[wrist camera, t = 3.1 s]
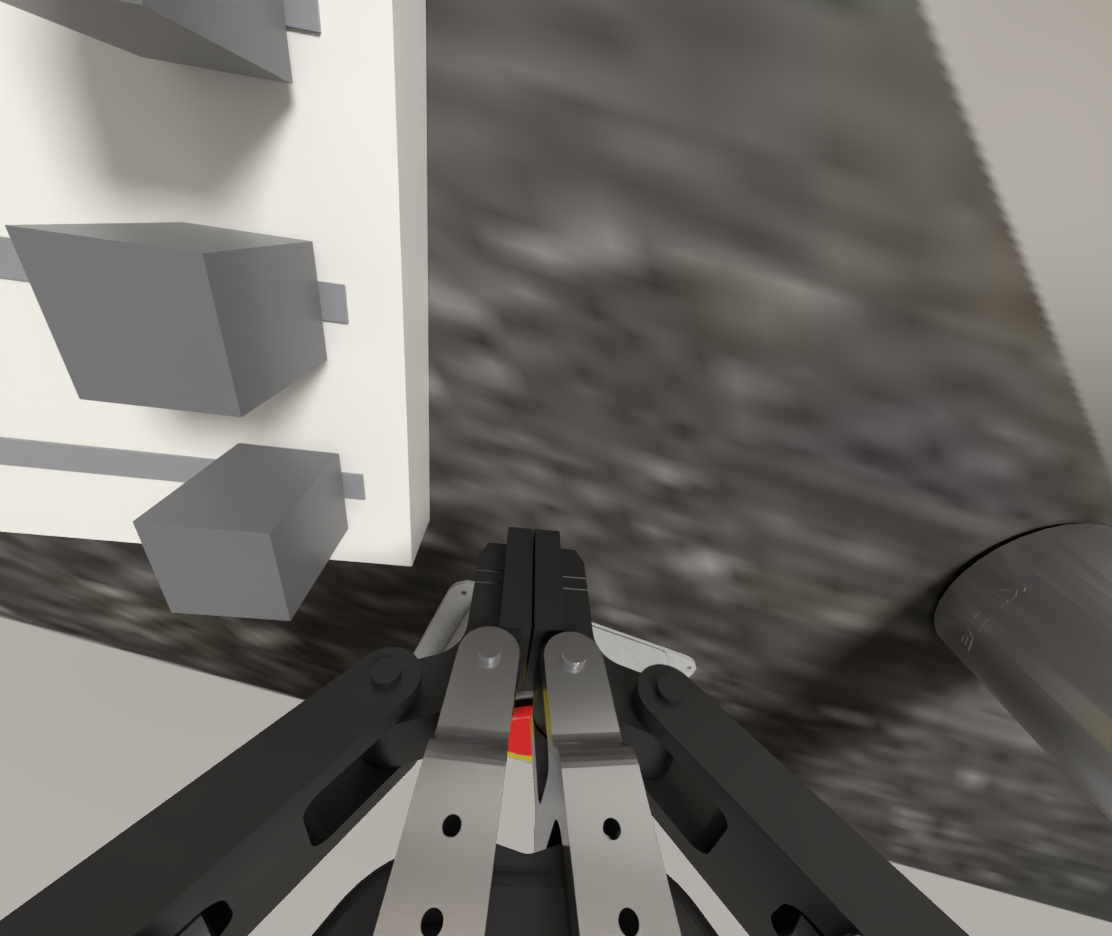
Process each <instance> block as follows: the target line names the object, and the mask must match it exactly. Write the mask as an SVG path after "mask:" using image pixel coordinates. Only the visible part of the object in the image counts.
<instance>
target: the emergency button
mask: <svg viewBox="0 0 1112 936" xmlns="http://www.w3.org/2000/svg"><path fill="white" fill-rule="evenodd" d="M474 583H475V582H474V581H468V580H464V581H459V582H455V583H454V584H453V585H452V586H451V587H449V589H448V591H447V593H446V595H445V597H444V598H443V600H442V602H441V604H440V606H439V607H438V609H437V611H436V613H435V615H434V617H433V618H432V620H431V622H430V624H429V626H428V627H427V629H426V631H425V633H424V635H423V636H422V638H421V640H420V642H419V644H418V646H417V647H416V649H415V651H414V653H413V654H414V655H415V656H416V657H417V658H418V659H419V658H424V657H428V656H432V655H436V654H439V653H442V652H445V651H447V650H449V649H450V648H452V647H453V646H455V645H456V644H457V643H458V642H459V641H460V640H461V638H462V637H463V636H464V634H465V631H466V628H467V624H468V618H469V612H470V606H471V600H472V595H473V589H474ZM592 629H593V635H594V639H595V642H596V644H597V646H598V647H599V648H600V650H601V652H602V653H603V654H604V655H605V656H606V657H608V658H609V659H610V660H612V661H613V662H615V663H617V664H619V665H622V666H624V667H627V668H630V669H632V670H635V671H638V672H642V671H643V670H644V669H645V668H647V667H648V666H651V665H655V664H664V665H668V666H671V667H674V668H676V669H678V670H679V671H681V672H682V673H684V674H685V675H686V676H687V677H688V678H689V677H690V676H691V675H692V674H693V673H694V671H695V670H696V665H695V662H694V660H693V659H692V658H690V657H688V656H687V655H684V654H681V653H678V652H675V651H672V650H670V649H667V648H664V647H661V646H658V645H655V644H652V643H650V642H647V641H644V640H641V639H638V638H635V637H633V636H630V635H627V634H624V633H621V632H618V631H615V630H613V629H610V628H607V627H604V626H601V625H598V624H596V623H593V622H592ZM532 711H533V691H524V676H523V682H522V688H521V691H517V693H516V699H515V705H514V711H513V716H512V719H511V725H510V733H509V741H508V753H507V757H511V758H515V759H519V760H523V761H527V762H531V763H533V761H532V744H531V727H530V722H531V716H532Z"/></svg>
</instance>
